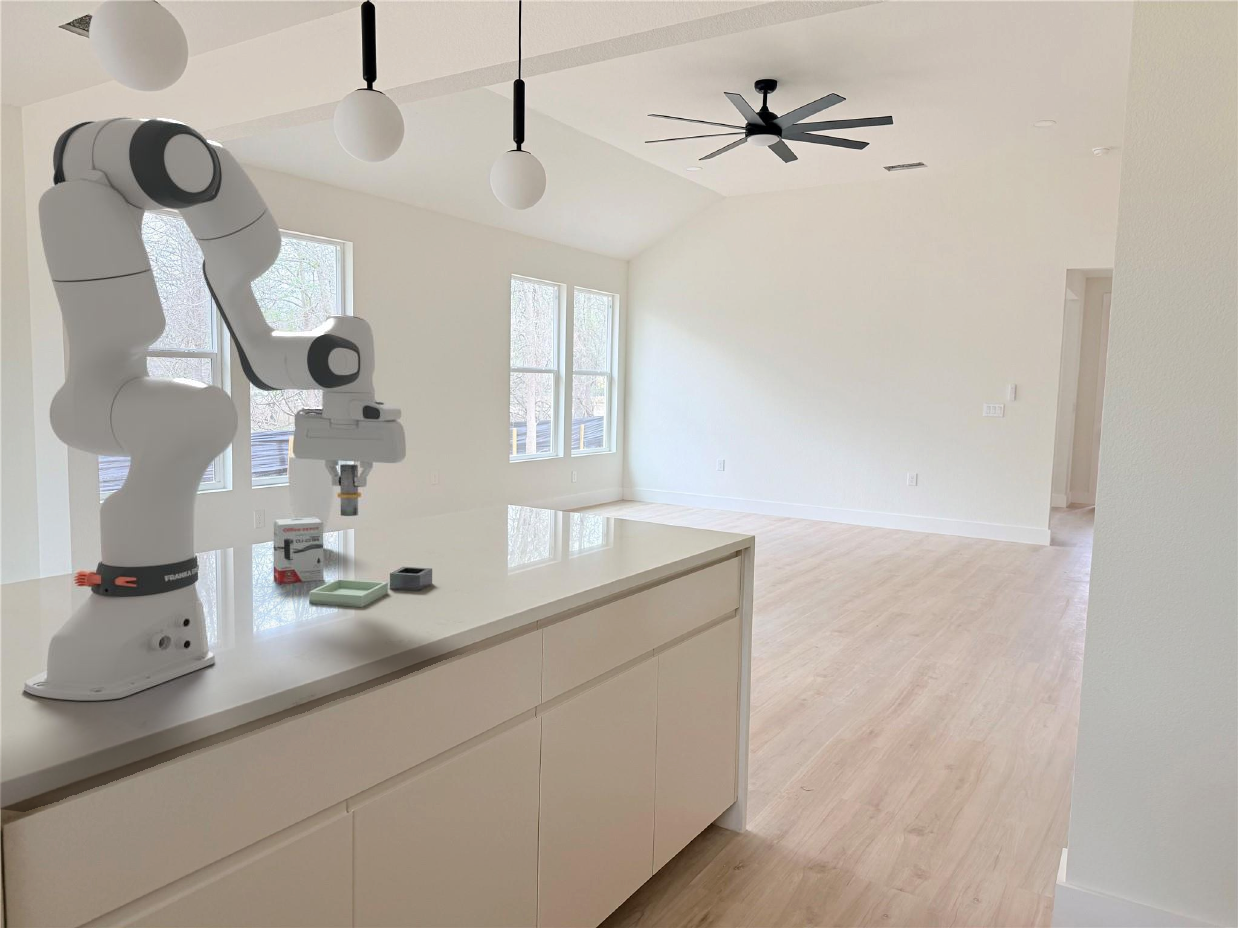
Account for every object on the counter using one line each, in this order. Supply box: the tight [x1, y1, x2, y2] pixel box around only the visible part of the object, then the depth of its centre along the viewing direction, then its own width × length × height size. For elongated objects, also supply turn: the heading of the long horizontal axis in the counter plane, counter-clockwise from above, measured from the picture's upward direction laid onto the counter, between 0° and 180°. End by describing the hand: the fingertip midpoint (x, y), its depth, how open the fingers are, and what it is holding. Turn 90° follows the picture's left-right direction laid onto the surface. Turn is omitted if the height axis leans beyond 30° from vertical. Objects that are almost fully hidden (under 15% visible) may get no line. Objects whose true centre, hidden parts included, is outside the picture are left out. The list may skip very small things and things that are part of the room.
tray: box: [308, 578, 389, 608], centre depth 148 cm, size 10×10×2 cm
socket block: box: [389, 566, 433, 592], centre depth 158 cm, size 6×6×3 cm
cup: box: [288, 454, 335, 534], centre depth 191 cm, size 10×10×22 cm
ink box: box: [273, 517, 324, 585], centre depth 161 cm, size 8×5×12 cm, turn 123°
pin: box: [337, 463, 362, 517], centre depth 147 cm, size 4×4×9 cm
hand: (349, 486), depth 147 cm, fingers closed on pin, 3 cm apart
